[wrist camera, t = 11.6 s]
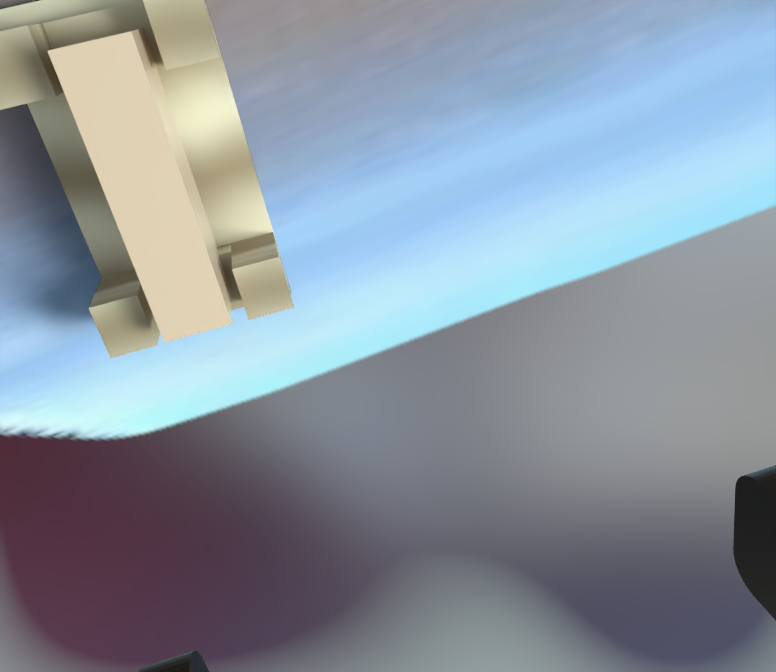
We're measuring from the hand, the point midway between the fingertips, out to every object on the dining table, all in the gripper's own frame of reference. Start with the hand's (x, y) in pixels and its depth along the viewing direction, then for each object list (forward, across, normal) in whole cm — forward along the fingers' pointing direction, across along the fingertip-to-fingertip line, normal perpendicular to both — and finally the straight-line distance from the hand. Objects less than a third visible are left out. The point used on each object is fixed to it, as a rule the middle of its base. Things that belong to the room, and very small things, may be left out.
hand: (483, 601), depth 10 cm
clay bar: (+32, +7, -1) cm, 32 cm away
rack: (+34, +7, -1) cm, 35 cm away
